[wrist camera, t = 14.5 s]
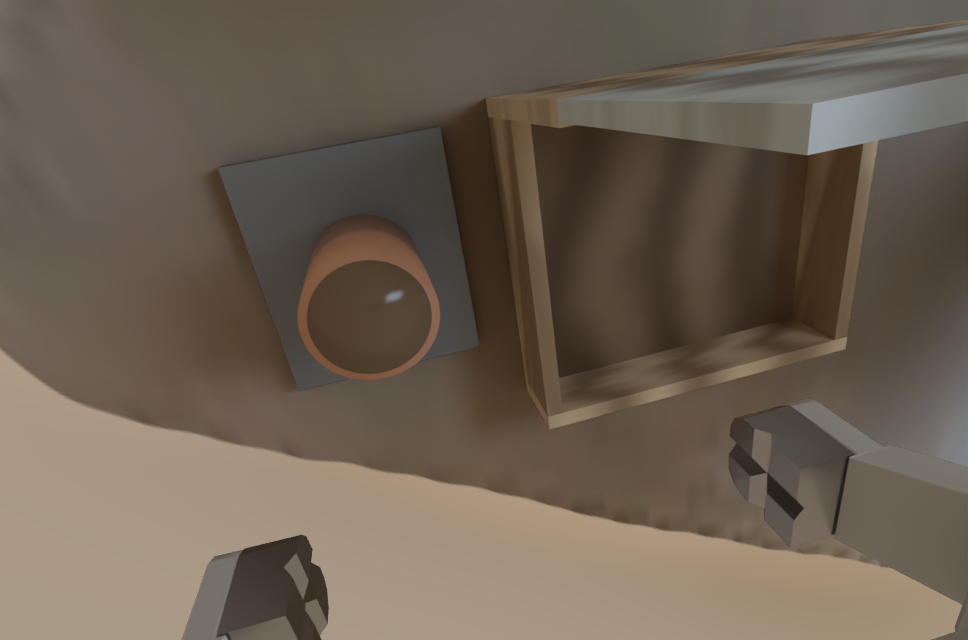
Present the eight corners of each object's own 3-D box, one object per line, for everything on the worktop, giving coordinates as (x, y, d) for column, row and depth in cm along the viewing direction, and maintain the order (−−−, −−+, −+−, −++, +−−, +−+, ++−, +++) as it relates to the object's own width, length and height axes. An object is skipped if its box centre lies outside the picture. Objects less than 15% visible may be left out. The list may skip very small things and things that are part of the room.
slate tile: (437, 126, 30) (440, 127, 29) (476, 340, 36) (479, 346, 35) (222, 165, 28) (217, 168, 27) (300, 383, 34) (298, 390, 33)
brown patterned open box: (822, 38, 33) (1709, -74, 11) (792, 321, 41) (1266, 568, 20) (485, 98, 30) (812, 104, 8) (527, 390, 38) (743, 768, 17)
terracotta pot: (407, 204, 30) (424, 237, 23) (430, 303, 33) (452, 361, 26) (295, 228, 29) (276, 270, 22) (328, 328, 32) (321, 396, 25)
